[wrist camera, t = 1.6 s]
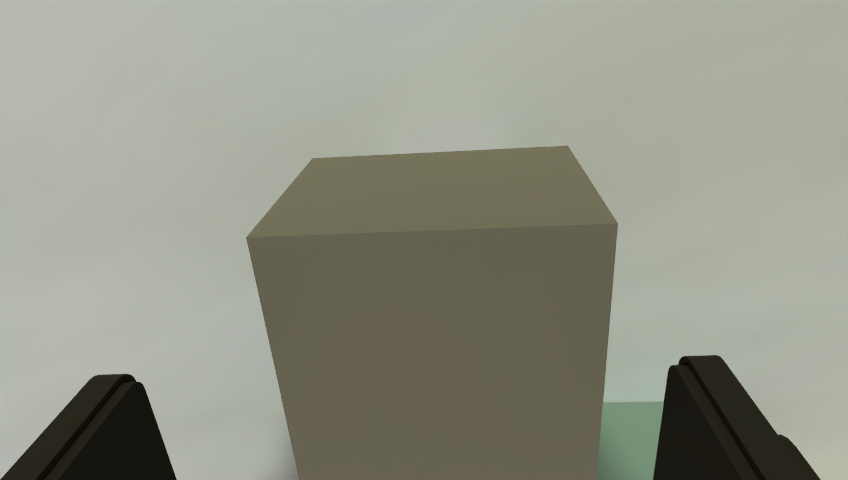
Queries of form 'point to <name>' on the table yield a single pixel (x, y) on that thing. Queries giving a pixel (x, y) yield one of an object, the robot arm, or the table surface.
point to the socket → (629, 440)
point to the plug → (440, 315)
